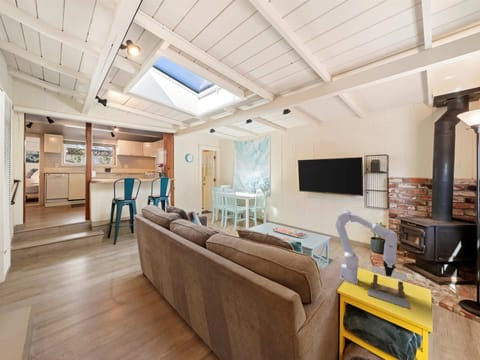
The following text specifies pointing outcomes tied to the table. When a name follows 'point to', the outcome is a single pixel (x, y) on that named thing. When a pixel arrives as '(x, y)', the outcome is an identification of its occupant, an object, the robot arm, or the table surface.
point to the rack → (388, 288)
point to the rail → (394, 274)
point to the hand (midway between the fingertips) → (388, 274)
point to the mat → (388, 298)
